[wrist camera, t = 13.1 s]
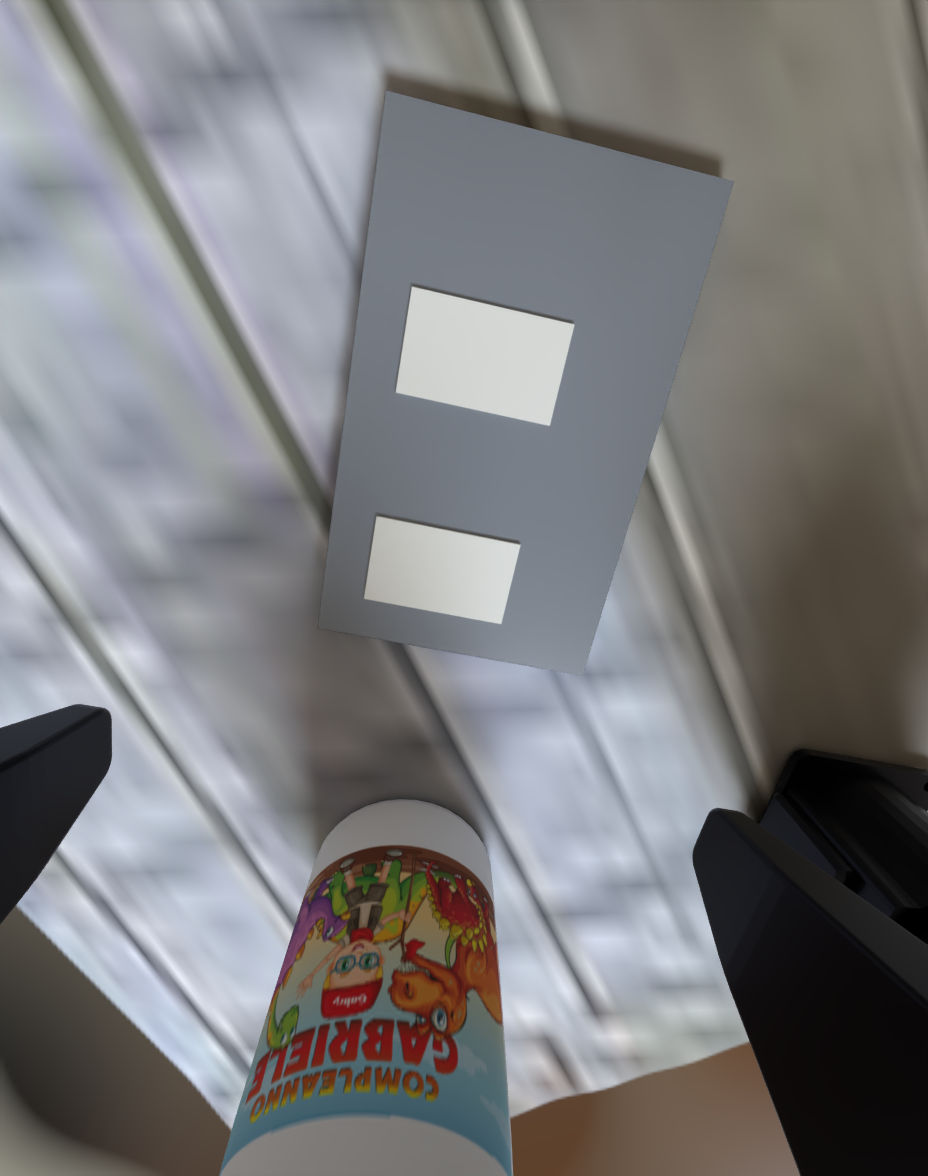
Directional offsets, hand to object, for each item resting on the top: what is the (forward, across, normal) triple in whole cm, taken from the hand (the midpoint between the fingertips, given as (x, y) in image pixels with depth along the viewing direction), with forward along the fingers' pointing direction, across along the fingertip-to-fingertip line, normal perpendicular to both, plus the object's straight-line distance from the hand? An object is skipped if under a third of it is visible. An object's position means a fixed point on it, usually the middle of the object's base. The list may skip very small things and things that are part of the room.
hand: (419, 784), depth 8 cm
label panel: (+12, -1, -5) cm, 13 cm away
